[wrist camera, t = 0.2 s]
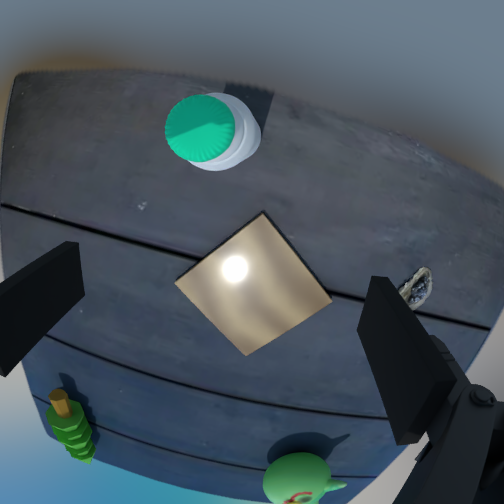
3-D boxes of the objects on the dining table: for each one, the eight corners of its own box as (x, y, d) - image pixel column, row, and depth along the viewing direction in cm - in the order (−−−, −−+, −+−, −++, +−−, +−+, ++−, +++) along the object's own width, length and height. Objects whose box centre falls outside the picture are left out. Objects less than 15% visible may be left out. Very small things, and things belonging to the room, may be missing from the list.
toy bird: (277, 436, 63) (277, 489, 49) (343, 444, 63) (351, 492, 49) (255, 471, 69) (253, 515, 55) (314, 477, 69) (317, 520, 55)
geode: (390, 301, 50) (393, 306, 48) (412, 260, 47) (416, 264, 45) (418, 311, 50) (422, 316, 48) (440, 273, 47) (445, 277, 46)
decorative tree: (52, 417, 50) (89, 484, 59) (87, 394, 60) (114, 463, 69) (28, 393, 55) (65, 463, 64) (61, 373, 65) (89, 444, 74)
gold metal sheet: (263, 212, 46) (262, 213, 45) (331, 298, 50) (332, 301, 49) (176, 280, 50) (174, 283, 50) (246, 353, 55) (245, 356, 54)
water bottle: (230, 102, 41) (184, 57, 17) (271, 130, 42) (273, 113, 18) (202, 142, 43) (127, 144, 19) (242, 170, 44) (209, 201, 20)
